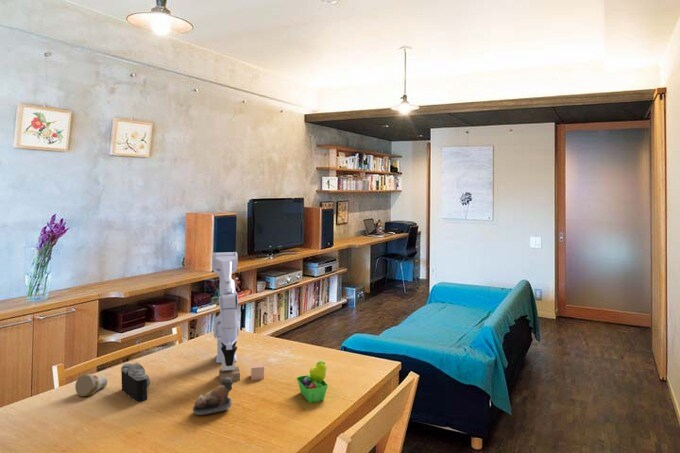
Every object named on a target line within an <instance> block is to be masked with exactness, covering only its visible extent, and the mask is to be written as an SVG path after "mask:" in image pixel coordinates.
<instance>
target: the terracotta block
mask: <svg viewBox="0 0 680 453" xmlns="http://www.w3.org/2000/svg"><path fill="white" fill-rule="evenodd" d="M250 378H251V381H253V380H255V381H257V380H264V379H265V365H264V362H256V363H255V362H254V363H250Z"/></svg>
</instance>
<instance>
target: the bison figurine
mask: <svg viewBox="0 0 680 453" xmlns="http://www.w3.org/2000/svg"><path fill="white" fill-rule="evenodd" d="M231 377H232V376H231ZM232 379H233V377H232V378H230V377H225V378H223V377H222V382H219V384H220V385H217V386H216V387H214V388H213V389H212V390H211V391H209V392H207V393H206V395H203V394H200V395H199V396H198V397H197V399H196V400H195V402H194V405H193V406H192V411H193V414H195V415H199V416H205V415H211V414H216V413H219V412H223V411H226V410H227V409H228V410H229V409H230V408H231V407H232V398H231V397H229V394H230V392H231V390H232V389H233V386H232V385H234V383H233V382H234V381H232Z"/></svg>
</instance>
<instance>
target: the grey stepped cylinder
mask: <svg viewBox="0 0 680 453" xmlns="http://www.w3.org/2000/svg"><path fill="white" fill-rule="evenodd" d="M107 385H108V378H107V377H105V376H97V375H95V374H93V373H85V374H82V375H81V376H79V377H78V378H77V380H76V382H75V386H74V387H75V392H76V394H78V395H79V396H80V397H88V396H92V395H93V394H95V393H96V392H97V391H98V390H100V389H104V388H106V387H107Z"/></svg>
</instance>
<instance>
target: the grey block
mask: <svg viewBox="0 0 680 453" xmlns="http://www.w3.org/2000/svg"><path fill="white" fill-rule="evenodd" d="M235 367H236V361H235V356H234V359H233V365H232V366H226V363H225V357H224V354H222V363H221V368H222V371H224V370H235Z"/></svg>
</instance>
